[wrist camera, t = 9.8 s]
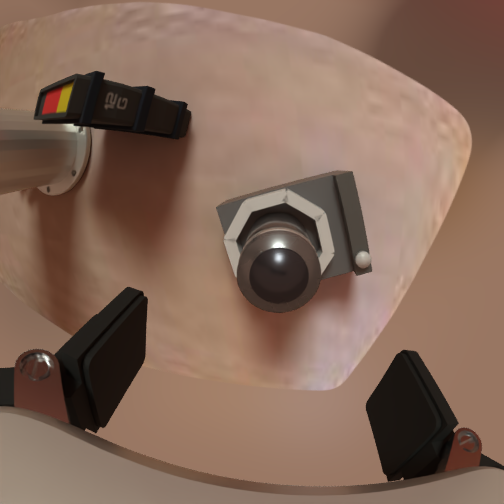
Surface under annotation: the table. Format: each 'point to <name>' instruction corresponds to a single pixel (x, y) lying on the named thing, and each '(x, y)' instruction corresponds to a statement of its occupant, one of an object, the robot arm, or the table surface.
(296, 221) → the lens
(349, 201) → the camera body
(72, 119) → the black device
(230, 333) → the table surface
